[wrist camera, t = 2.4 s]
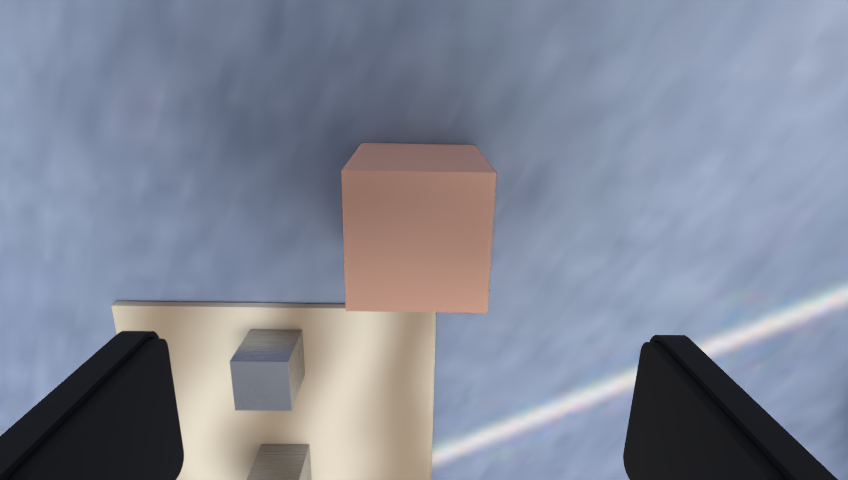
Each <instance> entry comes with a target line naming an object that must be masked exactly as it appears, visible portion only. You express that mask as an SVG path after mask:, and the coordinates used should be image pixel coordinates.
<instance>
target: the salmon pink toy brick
mask: <svg viewBox="0 0 848 480" xmlns="http://www.w3.org/2000/svg"><path fill="white" fill-rule="evenodd" d="M496 177H497V173H496V171H495V170H494V169H493V167H492V166H491V165H490V163H489V162H488V161H487V159H486V158H485V157H484V155H483V154H482V153H481V151H480V150H479V149H478V147H477V146H476V145H453V144H399V143H361V144H360V146H359V147H358V148H357V150H356V151H355V152H354V154H353V155H352V156H351V158H350V159H349V160H348V162H347V163H346V164H345V166H344V167H343V168H342V170H341V181H342V212H343V243H344V275H345V306H346V311H371V312H450V313H488V299H489V284H490V268H491V253H492V238H493V223H494V207H495V192H496Z"/></svg>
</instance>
